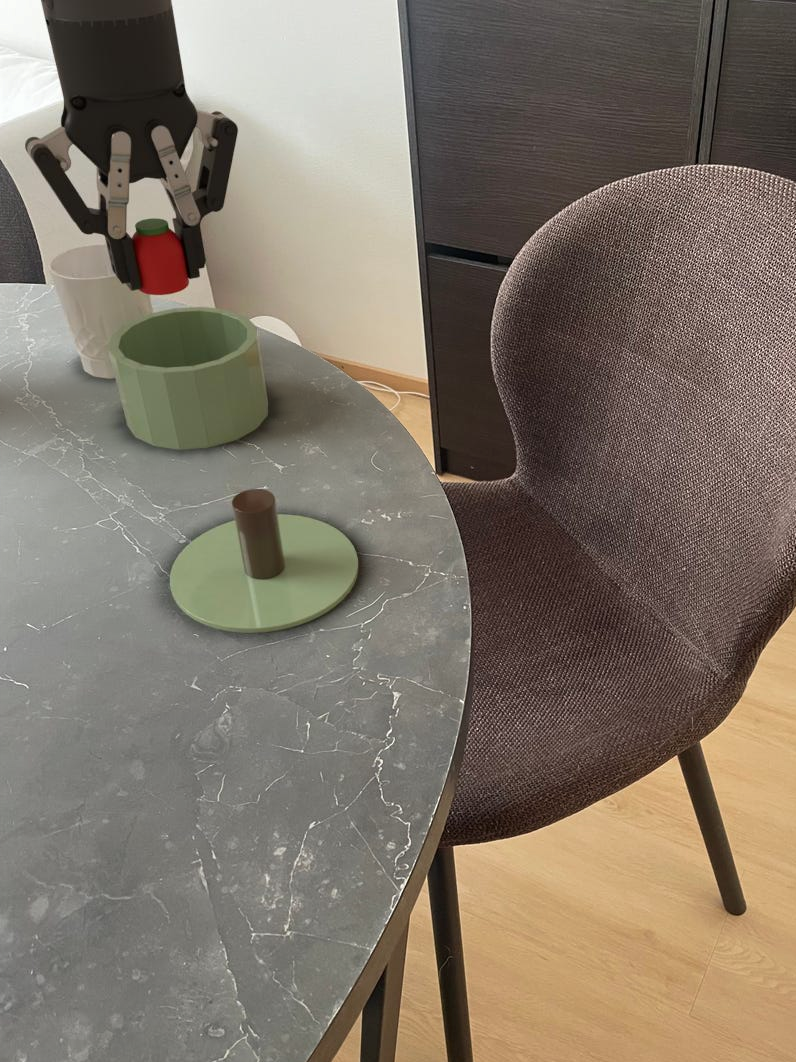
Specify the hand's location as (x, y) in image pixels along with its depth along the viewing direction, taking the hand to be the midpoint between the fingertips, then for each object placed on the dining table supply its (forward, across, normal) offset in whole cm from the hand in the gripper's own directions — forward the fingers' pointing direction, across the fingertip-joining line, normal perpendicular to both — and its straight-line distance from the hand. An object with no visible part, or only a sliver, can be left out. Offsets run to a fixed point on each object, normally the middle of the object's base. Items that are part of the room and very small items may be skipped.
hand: (161, 279), depth 74 cm
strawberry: (0, 0, 0) cm, 0 cm away
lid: (+14, +1, +17) cm, 22 cm away
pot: (+15, -2, -6) cm, 16 cm away
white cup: (+15, +1, -19) cm, 24 cm away
